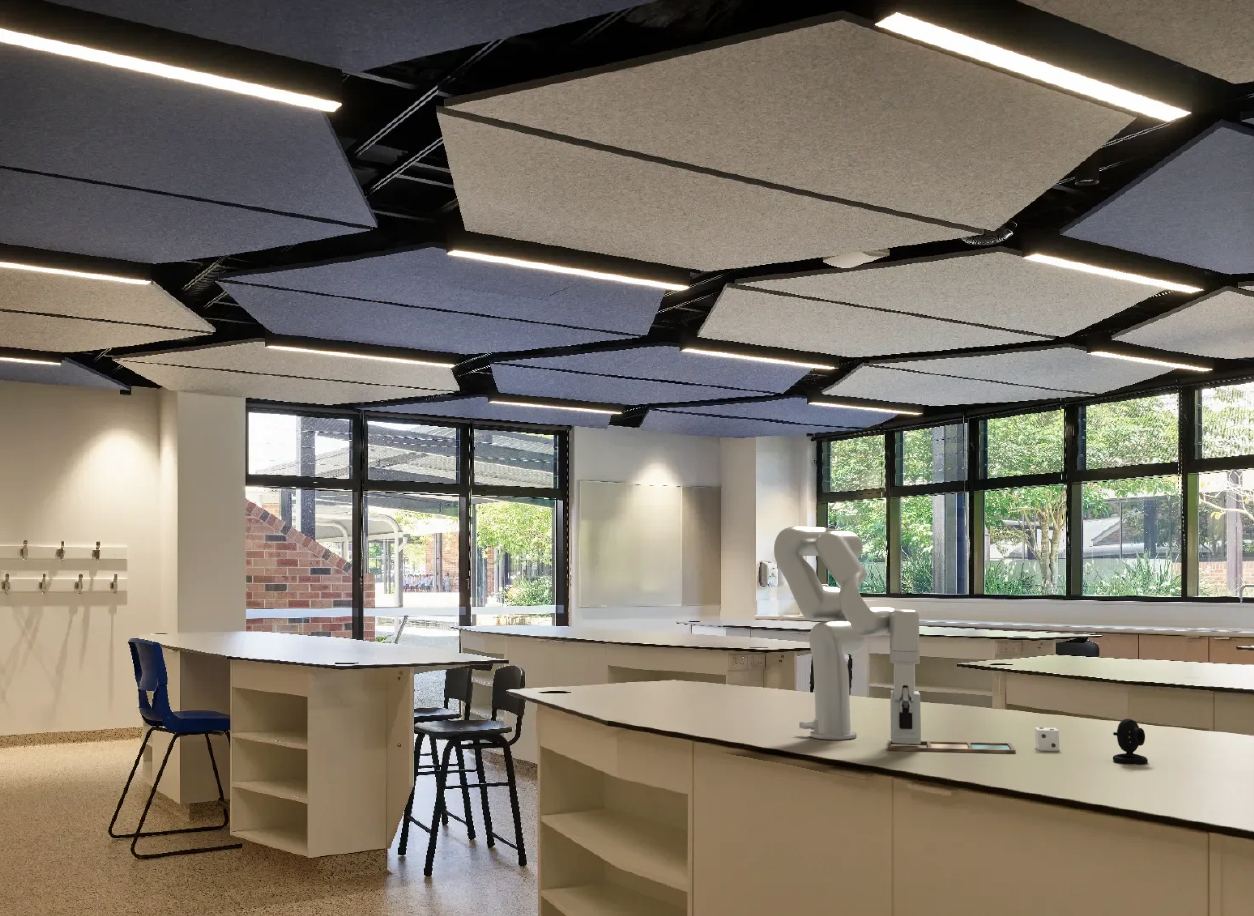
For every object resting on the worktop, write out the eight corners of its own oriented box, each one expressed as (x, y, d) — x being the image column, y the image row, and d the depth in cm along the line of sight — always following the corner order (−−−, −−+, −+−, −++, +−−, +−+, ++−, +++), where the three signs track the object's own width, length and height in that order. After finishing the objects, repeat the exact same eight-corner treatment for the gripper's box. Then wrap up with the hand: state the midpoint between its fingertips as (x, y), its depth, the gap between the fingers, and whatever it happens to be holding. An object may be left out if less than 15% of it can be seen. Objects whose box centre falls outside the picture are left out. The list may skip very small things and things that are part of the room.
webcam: (1136, 766, 249) (1134, 721, 250) (1106, 761, 255) (1103, 718, 256) (1154, 762, 254) (1151, 718, 255) (1124, 758, 260) (1121, 715, 261)
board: (887, 750, 275) (887, 747, 275) (887, 743, 286) (887, 740, 286) (1015, 753, 268) (1015, 750, 268) (1010, 746, 279) (1010, 742, 279)
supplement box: (921, 744, 276) (920, 694, 277) (891, 743, 278) (890, 693, 279) (919, 739, 283) (919, 690, 284) (890, 738, 285) (889, 689, 286)
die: (1038, 750, 273) (1037, 729, 273) (1035, 747, 277) (1034, 726, 278) (1059, 751, 271) (1058, 730, 272) (1056, 747, 276) (1055, 727, 277)
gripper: (889, 653, 291) (890, 720, 290) (889, 660, 275) (890, 731, 273) (918, 654, 290) (919, 721, 288) (920, 661, 273) (921, 732, 271)
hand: (905, 725), depth 281 cm, fingers closed on supplement box, 7 cm apart
